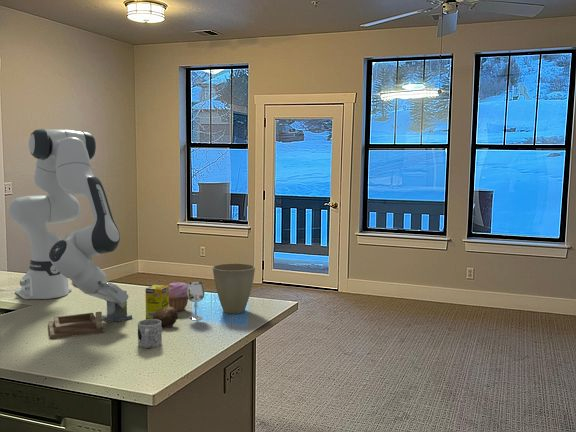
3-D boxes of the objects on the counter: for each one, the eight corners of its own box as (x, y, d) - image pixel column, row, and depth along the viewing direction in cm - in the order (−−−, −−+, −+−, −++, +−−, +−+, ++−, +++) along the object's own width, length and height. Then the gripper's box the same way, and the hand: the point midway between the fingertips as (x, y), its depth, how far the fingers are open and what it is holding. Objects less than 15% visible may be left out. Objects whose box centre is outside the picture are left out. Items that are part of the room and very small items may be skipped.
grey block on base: (101, 319, 189) (101, 291, 188) (120, 314, 194) (119, 287, 193) (113, 323, 184) (113, 294, 183) (132, 318, 190) (131, 290, 189)
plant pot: (263, 311, 200) (263, 267, 198) (229, 319, 190) (229, 272, 188) (238, 303, 211) (238, 261, 209) (204, 310, 201) (204, 266, 200)
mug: (140, 341, 167) (140, 319, 166) (163, 341, 167) (163, 319, 166) (133, 352, 157) (133, 329, 156) (158, 352, 157) (157, 329, 156)
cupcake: (161, 309, 202) (160, 281, 201) (182, 305, 208) (182, 278, 207) (173, 314, 195) (173, 285, 194) (195, 310, 201) (195, 282, 200)
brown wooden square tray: (48, 325, 181) (47, 306, 181) (97, 319, 188) (97, 301, 187) (50, 338, 168) (50, 318, 167) (103, 332, 174) (103, 312, 174)
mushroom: (172, 310, 189) (167, 298, 185) (185, 323, 184) (180, 311, 180) (152, 324, 185) (146, 312, 181) (164, 338, 180) (159, 326, 176)
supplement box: (162, 322, 186) (161, 289, 185) (145, 320, 187) (144, 288, 186) (169, 317, 192) (169, 285, 191) (153, 315, 193) (152, 284, 192)
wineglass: (183, 318, 191) (183, 283, 190) (197, 314, 195) (197, 280, 194) (194, 321, 187) (194, 286, 186) (208, 318, 191) (207, 283, 190)
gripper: (115, 276, 176) (142, 301, 184) (80, 268, 189) (107, 291, 197) (103, 293, 173) (131, 317, 181) (68, 283, 186) (96, 306, 194)
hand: (118, 304), depth 189 cm, fingers closed on grey block on base, 5 cm apart
